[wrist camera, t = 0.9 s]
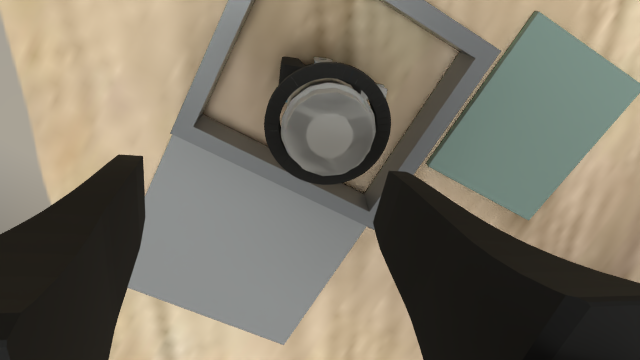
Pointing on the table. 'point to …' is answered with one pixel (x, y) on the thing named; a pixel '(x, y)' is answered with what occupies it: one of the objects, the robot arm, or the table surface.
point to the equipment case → (271, 196)
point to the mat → (534, 118)
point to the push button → (326, 121)
